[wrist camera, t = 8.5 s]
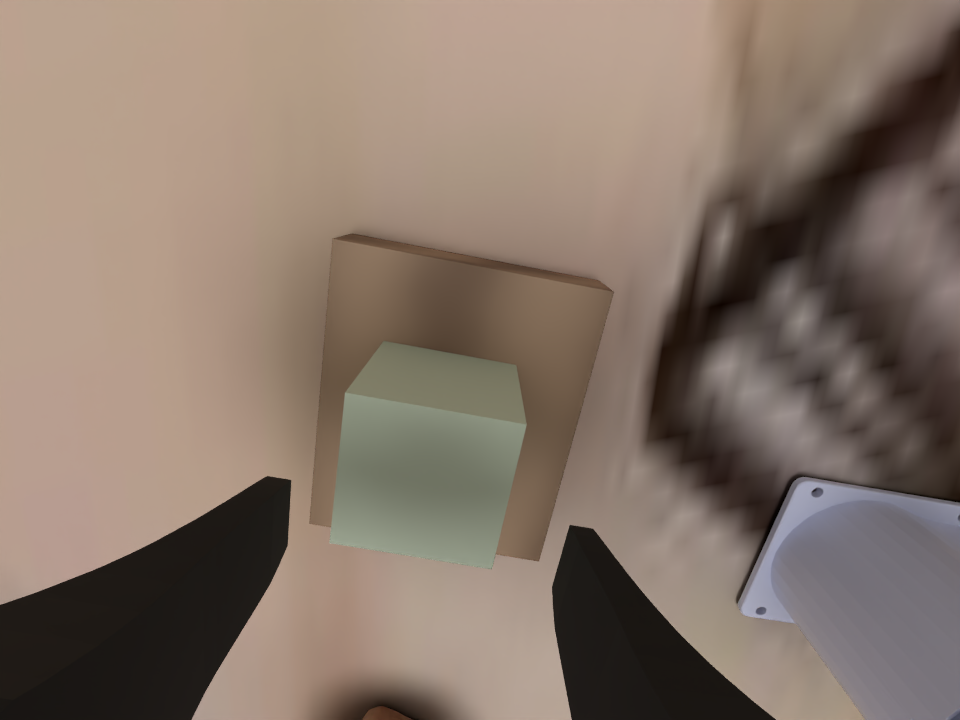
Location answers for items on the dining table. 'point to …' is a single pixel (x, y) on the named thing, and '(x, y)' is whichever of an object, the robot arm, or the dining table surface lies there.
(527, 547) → the walnut block
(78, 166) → the dining table surface
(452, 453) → the sage cube
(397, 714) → the cupcake
